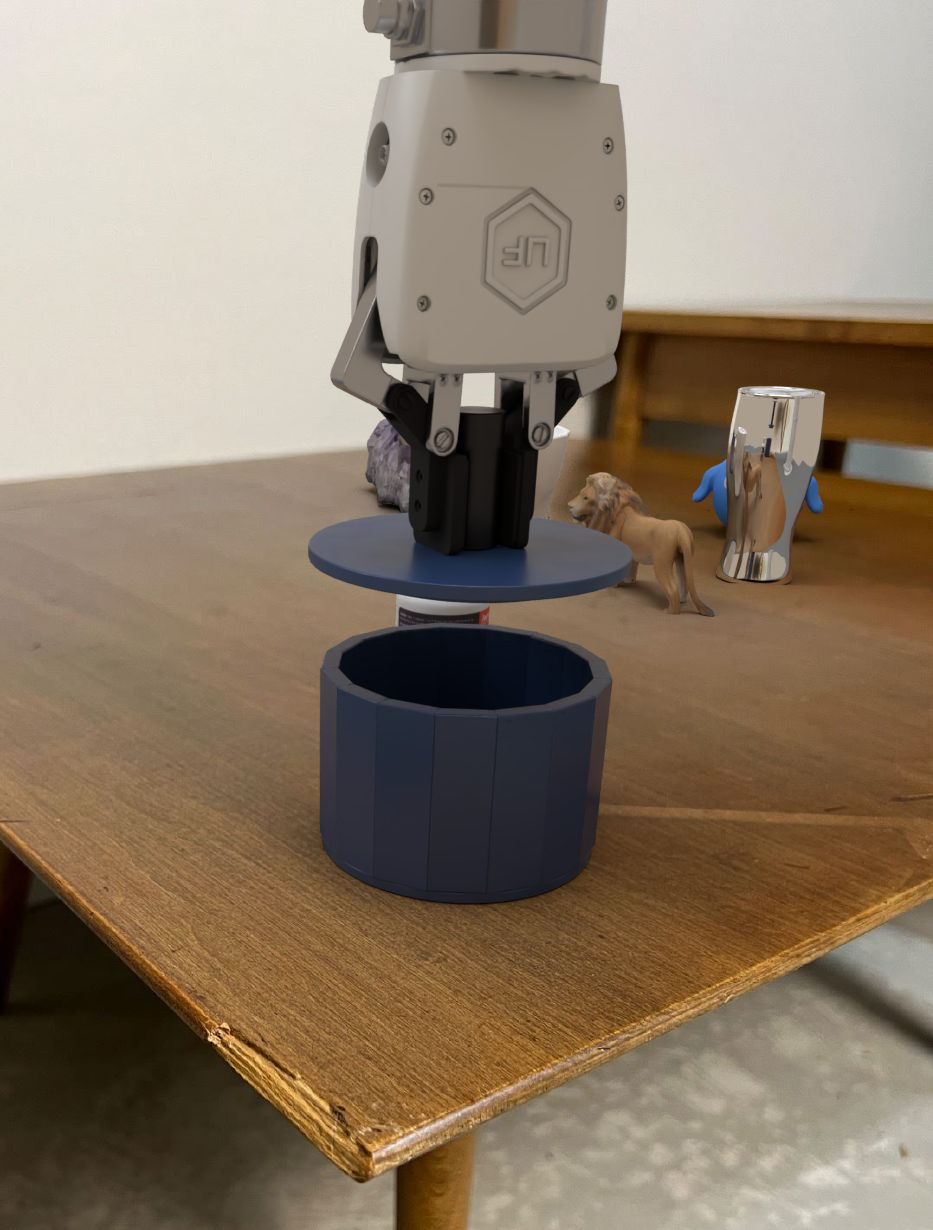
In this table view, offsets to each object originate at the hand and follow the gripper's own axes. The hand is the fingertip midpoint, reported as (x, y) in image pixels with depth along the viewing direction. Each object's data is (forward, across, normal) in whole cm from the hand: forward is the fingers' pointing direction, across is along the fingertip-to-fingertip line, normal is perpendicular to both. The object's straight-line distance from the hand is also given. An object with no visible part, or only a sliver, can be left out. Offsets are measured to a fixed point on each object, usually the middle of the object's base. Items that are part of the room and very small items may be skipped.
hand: (470, 540), depth 51 cm
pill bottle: (+14, +8, +15) cm, 22 cm away
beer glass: (+14, +47, +32) cm, 59 cm away
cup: (+14, +30, +46) cm, 57 cm away
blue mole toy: (+14, +57, +43) cm, 73 cm away
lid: (+1, 0, 0) cm, 1 cm away
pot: (+14, 0, 0) cm, 14 cm away
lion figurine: (+14, +34, +30) cm, 47 cm away
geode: (+14, +37, +70) cm, 80 cm away
